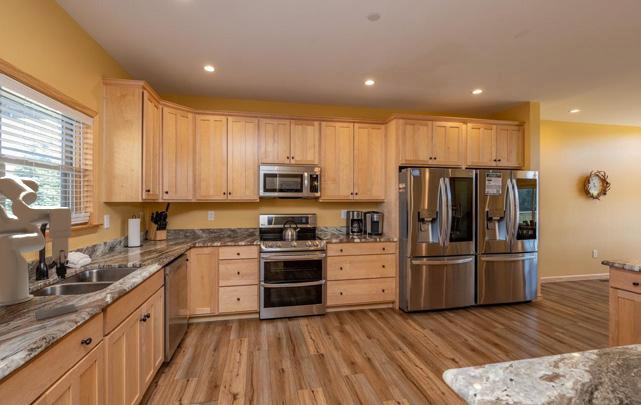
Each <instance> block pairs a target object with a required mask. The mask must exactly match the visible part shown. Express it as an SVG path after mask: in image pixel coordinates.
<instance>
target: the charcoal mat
mask: <svg viewBox="0 0 641 405" xmlns="http://www.w3.org/2000/svg"><path fill="white" fill-rule="evenodd" d="M76 312H79V311H78V308H77V306H76V305H75V304H74V303H70V304H67V305H66V304H65V305H62V306H61V305H60V306H57V307H52V308H48V309H44V310H43V309H42V310H39V311H35V316H36V321H37V322H38V321H42V320H45V319H50V318H55V317H60V316H63V315H68V314H71V313H76Z"/></svg>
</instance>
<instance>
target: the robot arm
mask: <svg viewBox="0 0 641 405" xmlns="http://www.w3.org/2000/svg"><path fill="white" fill-rule="evenodd" d="M39 189H40V186H39V183H38V182H37V181H36V180H35V179H34V178H33V179H32V178H30V177H19V176H3V177H0V200H9V201H10V202H11V205H10V206H11V211H12V215H11V214H10V213H9V212H8V211H7V208H6V207H5V206H4V205H2V204H1V203H0V307H3V306H4V307H6V306H12V305H17V304H20V303H24V302H27V301H28V302H29V301H30V300H32V299H33V298H34V295H33V294H30V292H29V289H30V288H29V287H30V286H29V266H28V261H27V259H26V258H25V257H24V256H23V254H28V253H29V254H30V253H35V252H40V251H41V250H43V249H44V248H45V246H46V238H45V236H44V234H43V232H42V231H41V230H40V227H39V226H38V225H40V224H48V237H49V238H48V239H51V259H52V260H53V262H54V261H56V259H57V263H58V267H56V266H55V274H56V276H62V275H65V276H66V275H67V274H68V273H67V272H68V271H67V270H68V269H67V268H68V267H67V266H68V265H66V260H69V259H68V258H69V238H72V209H71V208H70V207H67V206H65V207H63V206H62V207H61V206H33V207H31V206H30V205H33V204H34V203H35V202H36V201H37V200H38V195H37V193H38V191H39ZM59 259H61V260H59ZM59 261H60V262H59Z"/></svg>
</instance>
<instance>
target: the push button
mask: <svg viewBox="0 0 641 405" xmlns="http://www.w3.org/2000/svg"><path fill="white" fill-rule="evenodd" d="M59 260H61V259H59ZM59 262H60V261H59ZM69 262H70V260H69V259H66V266H68V265H69ZM52 264H53V266H54V267H55V268H56V267H58V263H57V259H56V260H55V261H54V260H53V262H52ZM56 276H57V275H56ZM56 278H57V279H58V282H59V283H63V282H65V280H66V278H67V276H66V275H62V276H57V277H56Z"/></svg>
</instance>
